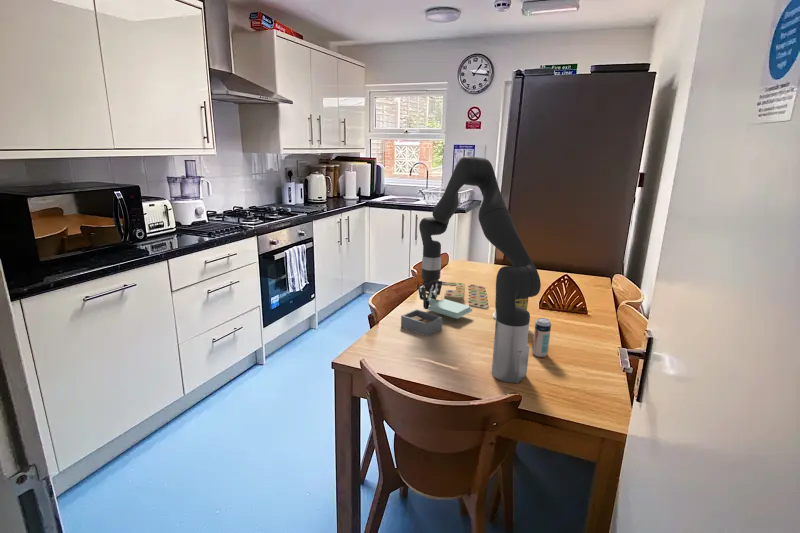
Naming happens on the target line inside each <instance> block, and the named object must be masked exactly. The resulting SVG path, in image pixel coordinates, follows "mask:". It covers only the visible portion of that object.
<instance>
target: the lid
mask: <svg viewBox="0 0 800 533" xmlns="http://www.w3.org/2000/svg"><path fill="white" fill-rule="evenodd" d="M422 301H423V300H422ZM423 302H424V301H423ZM427 310H428V311H432V312H434V313H437V314H442V315H444V316H446V317H447V316H448V317H450V318H453V319H456V320H458V319H460V318H462V317H463V316H465V315H467V314H470V313H472V312H473V308H471V306H469V304H468V305H467V304H464V303H463V304H460V303H457V302H453V301H450V300H446V299H444V298H442V299H440V300H439V299H437V298H436V299H433V298H429V307H428V309H427Z"/></svg>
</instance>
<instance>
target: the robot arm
mask: <svg viewBox="0 0 800 533" xmlns="http://www.w3.org/2000/svg"><path fill="white" fill-rule="evenodd" d="M464 185H466V186H474V187H478V188H479V190H480V192H481V194H482V195H481V196H482V202H481V205H480V206H479V210H478V222H479V225H480V227H481V230H482V232H483V235H484V236H485V239H486V240H488V242H490V244H491V245H493V246H494V247H495V248H496V249H497V250H499V252H501V253H502V254H503V255H504V256H505V258H507V260H508V261H509V262H510V264H511V265H506V266H502V267H500V268H499V269H498V271H497V274H496V278H495V279H496V280H495V302H494V303H495V305H494V306H495V310H496V319H495V327H494V337H493V338H494V340H493V349H492V350H493V351H492V364H491V374H492V376H493V377H494V378H495V379H497V380H499V381H502V382H506V383H515V384H519V383H520V382H521V381H522V380H523V379H525V377H527V372H528V364H529V353H530V345H528V338H529V329H530V320H531V314H530V312H529V311H528V309H527V310H526V309H524V308H521V307H518V306H516V302H515V301H516V299H518V298H528V299H529V298H533V297H535V296H538V294H540V291H541V286H542V285H541V284H542V283H541V279H540V278H541V277H540V274H539V272H538V269H537V267H536V265H535V264H534V262H533V260H532V258H531V257H530V255H529V253H528V251H527V250H526V248H525V245H524V244H523V242H522V239H521V238H520V236H519V233H518V230H517V228H516V226H515V223H514V221H513V219H512V216H511V214H510V211H509V209H508V207H507V204H506V203H505V201H504V198H503V196H502V193H501V190H500V188H499V184H498V181H497V178H496V174H495V170H494V168H493V165H492V163H491V161H490V160H489V159H488V158H486V157H485V158H484V157H479V156H478V157H477V156H473V155H471V156H470V155H466V156H462V157H461V158H460V159H459V160H458V162H457V163H456V165H455V167H454V170H453V171H452V174H451V176H450V179H449V181H448V183H447V186H446V188H445V189H444V190H445V191H444V192H443V194H442V196H441V198H440V199H439V201H438V202H437V204H436V205H435V207H434V208H433V210H432V216H431V217H426V216H425V217H423V218H422V219H421V220H420V222H419V226H418V228H419V234H420V236H421V242H422V260H421V279H422V280H423V282H422V285H421V286H420V285H419V286H417V291H418V295H419V300H421V301H424V302H423V305H422V306H423V309H424V310H428V307H430V305H429V298H430V295H431V296H432V297H431V298H433V299H437V298H438V296H440V294H441V290H442V287H443V285H442V282H443V280H440V279H441V273H442V272H441V270H442V265H441V264H442V258H441V256H442V254H441V252H442V243H441V242H440V241H438V240H435V239H434V240H433V238H432V236H439V235H442V234H444V233H445V232H446V231H447V229H448V227H449V226H448V225H449V222H450V220H451V218H452V217H453V216H454V214H455V212H456V211H457V209H458V207H459V203H460V201H459V191H460V189H461V188H462V187H463V186H464Z"/></svg>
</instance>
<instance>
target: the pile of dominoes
mask: <svg viewBox="0 0 800 533" xmlns="http://www.w3.org/2000/svg"><path fill="white" fill-rule="evenodd" d="M448 285H451V287H452V286H453V287H454V286H455V290H453V289H446V290H445V293H444V297H443V299H446V300H450V301H453V302H457V303H460V304H464V300H465V299H464V298H465V290H466V289H465V283H463V282H452V281H451V282H450V281H442V286H448ZM467 290H468V296H469V297H468V303H469V304H468V306H471V307H472V308H476V309H480V310H488V309H489V308H490V306H489V302H488V296H487V295H488V293H487V292H486V291H487V289H486V286H482V285H478V284H472V283H471V284H468V286H467ZM431 297H432V296H431V295H430V298H431ZM469 299H470V300H469Z"/></svg>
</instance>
